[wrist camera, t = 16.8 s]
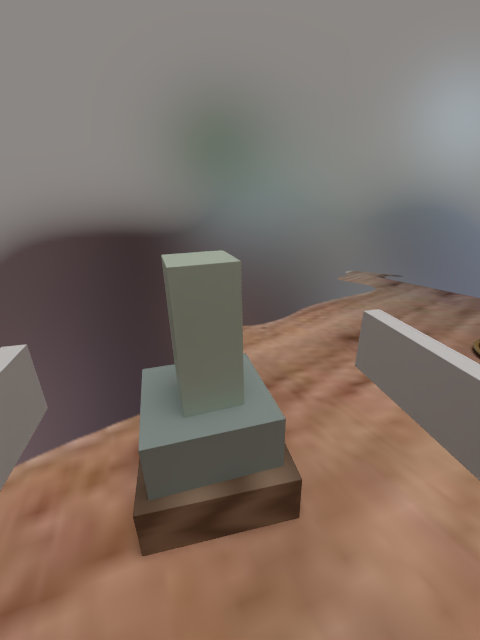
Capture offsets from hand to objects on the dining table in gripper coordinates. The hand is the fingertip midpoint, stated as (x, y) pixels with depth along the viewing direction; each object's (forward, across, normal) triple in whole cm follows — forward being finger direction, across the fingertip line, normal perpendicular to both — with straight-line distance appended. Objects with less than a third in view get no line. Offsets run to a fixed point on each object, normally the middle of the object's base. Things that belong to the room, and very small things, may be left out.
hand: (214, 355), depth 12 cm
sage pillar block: (+12, +1, -10) cm, 15 cm away
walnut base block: (+12, +1, -20) cm, 23 cm away
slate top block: (+12, 0, -15) cm, 19 cm away
